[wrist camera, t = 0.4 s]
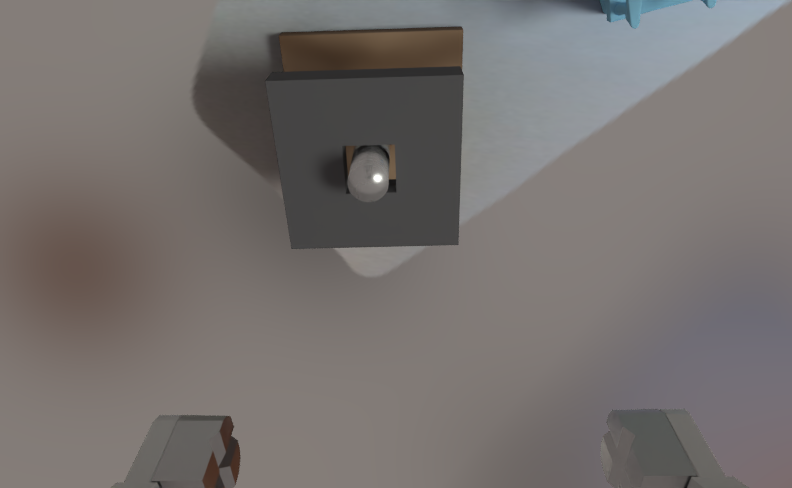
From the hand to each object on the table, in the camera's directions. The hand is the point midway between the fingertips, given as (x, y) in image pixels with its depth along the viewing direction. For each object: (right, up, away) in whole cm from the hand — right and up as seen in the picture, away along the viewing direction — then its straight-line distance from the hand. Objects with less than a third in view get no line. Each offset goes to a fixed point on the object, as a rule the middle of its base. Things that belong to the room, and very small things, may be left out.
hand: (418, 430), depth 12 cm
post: (-2, +16, +40) cm, 43 cm away
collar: (-3, +11, +32) cm, 34 cm away
